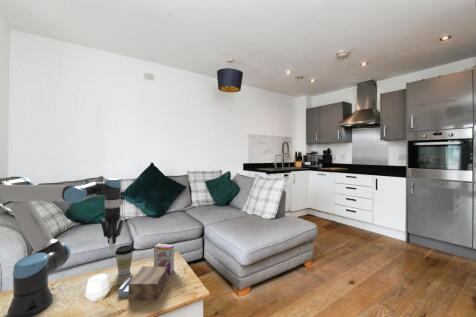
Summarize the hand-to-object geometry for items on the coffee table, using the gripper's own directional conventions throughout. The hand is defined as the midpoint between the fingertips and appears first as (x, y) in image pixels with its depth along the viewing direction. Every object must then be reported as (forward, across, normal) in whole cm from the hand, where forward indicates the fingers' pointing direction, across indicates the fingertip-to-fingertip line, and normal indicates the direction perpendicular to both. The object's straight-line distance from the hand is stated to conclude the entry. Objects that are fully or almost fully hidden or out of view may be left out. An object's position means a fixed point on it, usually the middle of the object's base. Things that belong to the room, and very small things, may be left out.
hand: (111, 249), depth 117 cm
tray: (+21, +16, -4) cm, 26 cm away
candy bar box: (+20, +24, +14) cm, 35 cm away
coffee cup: (+21, 0, +13) cm, 24 cm away
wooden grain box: (+20, +22, -4) cm, 30 cm away
